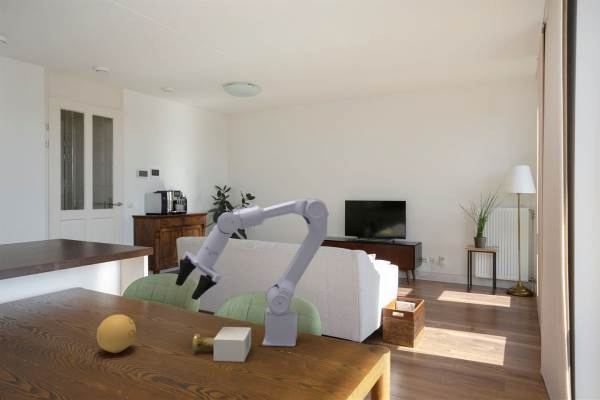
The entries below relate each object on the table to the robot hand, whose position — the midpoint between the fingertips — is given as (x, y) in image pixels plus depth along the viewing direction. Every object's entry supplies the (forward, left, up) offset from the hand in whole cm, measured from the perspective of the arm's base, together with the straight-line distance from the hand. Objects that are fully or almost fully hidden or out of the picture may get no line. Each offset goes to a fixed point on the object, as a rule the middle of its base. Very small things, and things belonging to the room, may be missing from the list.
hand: (186, 291), depth 115 cm
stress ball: (+18, +5, -16) cm, 24 cm away
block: (-14, +4, -16) cm, 22 cm away
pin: (-10, +4, -15) cm, 18 cm away
